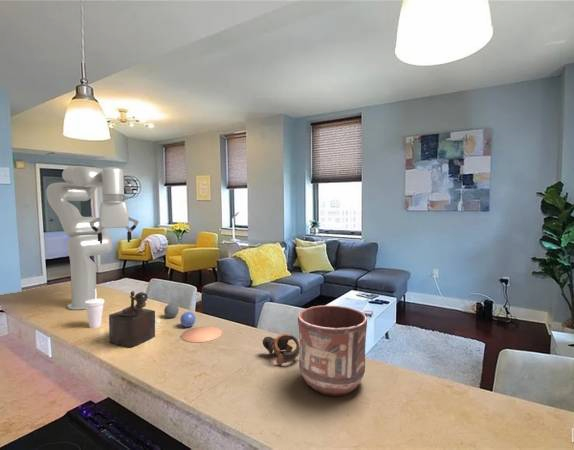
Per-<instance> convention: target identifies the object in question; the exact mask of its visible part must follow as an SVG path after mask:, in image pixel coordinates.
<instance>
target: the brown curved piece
mask: <svg viewBox="0 0 574 450" xmlns="http://www.w3.org/2000/svg"><path fill="white" fill-rule="evenodd" d="M291 340H292V341H293V342H295V346H296V347H295V349H294V348H293V346H292V345H290V344H288V343H289V341H291ZM262 345H263V347H264V348H265V349H266V351H268V353H269V355H272V354H273V353H274V354H275V355H276V356H277V359H276V360H275V361H276V363H275V364H277V365H278V366H282V365H283V364H285V363H286V364H288V363H289V362H292V361H294V360H296V359H297V358H299V352H300V341H299V340H298V339H297V337H295V335H292V334H288V333H283V334H279V335H277V337H276V338H273V337H272V336H264V338H263V339H262ZM293 349H294V350H293ZM281 351H283V353H281Z"/></svg>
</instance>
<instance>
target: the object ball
mask: <svg viewBox="0 0 574 450" xmlns="http://www.w3.org/2000/svg"><path fill="white" fill-rule="evenodd" d="M179 320H180V324H181V326H183V327H184V328H190V327H192V326H193V325H195V323H196V320H197V319H196V314H195V313H193V312H191V311H185V312H184V313H182V314H181V317H180V319H179Z"/></svg>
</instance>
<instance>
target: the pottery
mask: <svg viewBox="0 0 574 450" xmlns="http://www.w3.org/2000/svg"><path fill="white" fill-rule="evenodd" d="M297 325H298V326H297V327H298V333H299V335H298V337H299V340H298V341H299V347H300V352H299V355H298V365H299V371H300V373H301V376H302V377H303V379H304V380H305V383H306V384H307V385H308V386H309V387H310V388H311V389H312V390H314V391H315V392H317V393H320V394H322V395H324V396H325V395H326V396H329V397H331V396H333V397H339V396H340V397H341V396H345V395H348V394H350V393H351V392H352V391H354V390H355V389H356V388H357V387H359V384H360V383H361V381H362V380H363V377H364V375H365V372H366V343H367V342H366V341H367V340H366V339H367V328H368V317H367V315H366V314H365V313H364V312H362V311H360V310H358V309H355V308H352V307H348V306H342V305H334V304H333V305H329V304H327V305H324V304H323V305H316V306H311V307H308V308H305V309H303V310H301V311H299V312H298V315H297Z"/></svg>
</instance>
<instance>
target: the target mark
mask: <svg viewBox="0 0 574 450" xmlns="http://www.w3.org/2000/svg"><path fill="white" fill-rule="evenodd" d="M222 334H223V331H222V330H221V329H220V328H217V327H215V326H196V327H193V328H189V329H185V330H184V331H183V332H182V333H181V335H180V338H181V339H182V341H184V342H187V343H194V342H200V343H206V342H212V341H214V340H216V339H218V338H220V337H221V335H222Z"/></svg>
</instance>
